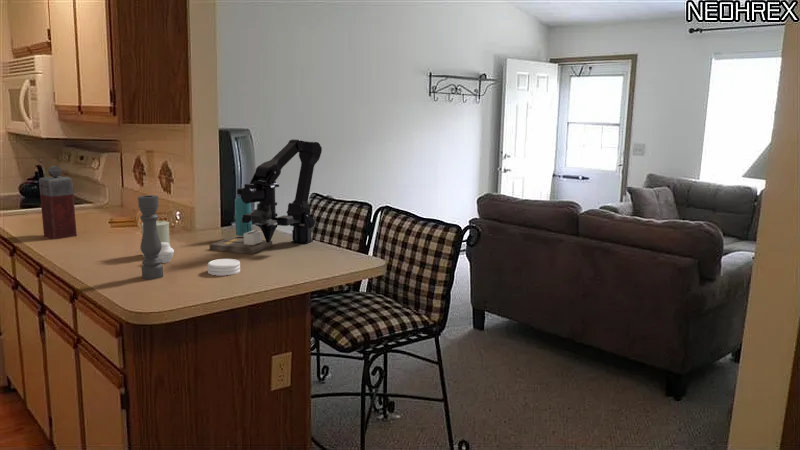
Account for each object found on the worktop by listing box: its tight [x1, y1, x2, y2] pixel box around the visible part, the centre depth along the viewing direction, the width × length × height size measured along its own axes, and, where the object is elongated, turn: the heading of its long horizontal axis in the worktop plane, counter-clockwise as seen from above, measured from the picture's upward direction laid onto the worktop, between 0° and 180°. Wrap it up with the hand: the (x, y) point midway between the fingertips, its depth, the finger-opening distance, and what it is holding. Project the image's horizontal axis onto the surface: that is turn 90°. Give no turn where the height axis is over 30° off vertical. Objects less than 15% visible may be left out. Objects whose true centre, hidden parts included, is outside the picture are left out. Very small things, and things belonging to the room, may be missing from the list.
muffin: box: [158, 242, 175, 264], centre depth 219 cm, size 6×6×7 cm
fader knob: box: [243, 230, 263, 245], centre depth 239 cm, size 4×6×4 cm, turn 161°
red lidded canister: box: [38, 165, 78, 240], centre depth 257 cm, size 9×11×28 cm
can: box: [140, 220, 171, 258], centre depth 228 cm, size 9×9×12 cm
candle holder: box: [137, 194, 164, 280], centre depth 199 cm, size 6×6×25 cm
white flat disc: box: [207, 258, 241, 277], centre depth 207 cm, size 10×10×4 cm
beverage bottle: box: [234, 187, 253, 237], centre depth 258 cm, size 6×7×20 cm
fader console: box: [209, 236, 273, 255], centre depth 242 cm, size 18×14×2 cm
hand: (268, 242), depth 238 cm, fingers closed
